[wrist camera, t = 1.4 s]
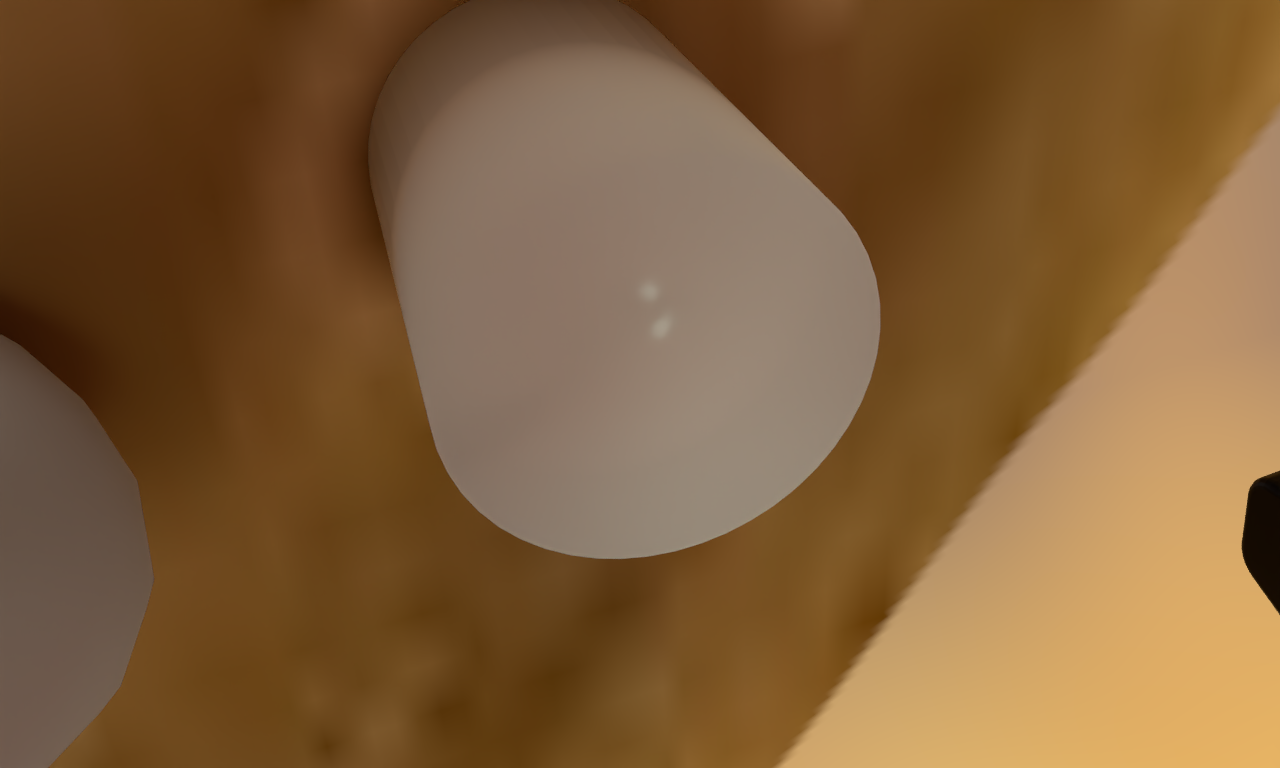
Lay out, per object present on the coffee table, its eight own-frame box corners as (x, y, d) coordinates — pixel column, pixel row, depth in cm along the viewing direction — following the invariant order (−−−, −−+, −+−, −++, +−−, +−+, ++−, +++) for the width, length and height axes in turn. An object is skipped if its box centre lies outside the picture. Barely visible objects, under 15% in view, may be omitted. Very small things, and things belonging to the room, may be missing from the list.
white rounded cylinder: (722, 250, 22) (895, 474, 16) (426, 344, 21) (498, 614, 16) (669, -59, 19) (861, 88, 13) (316, 40, 18) (357, 243, 12)
